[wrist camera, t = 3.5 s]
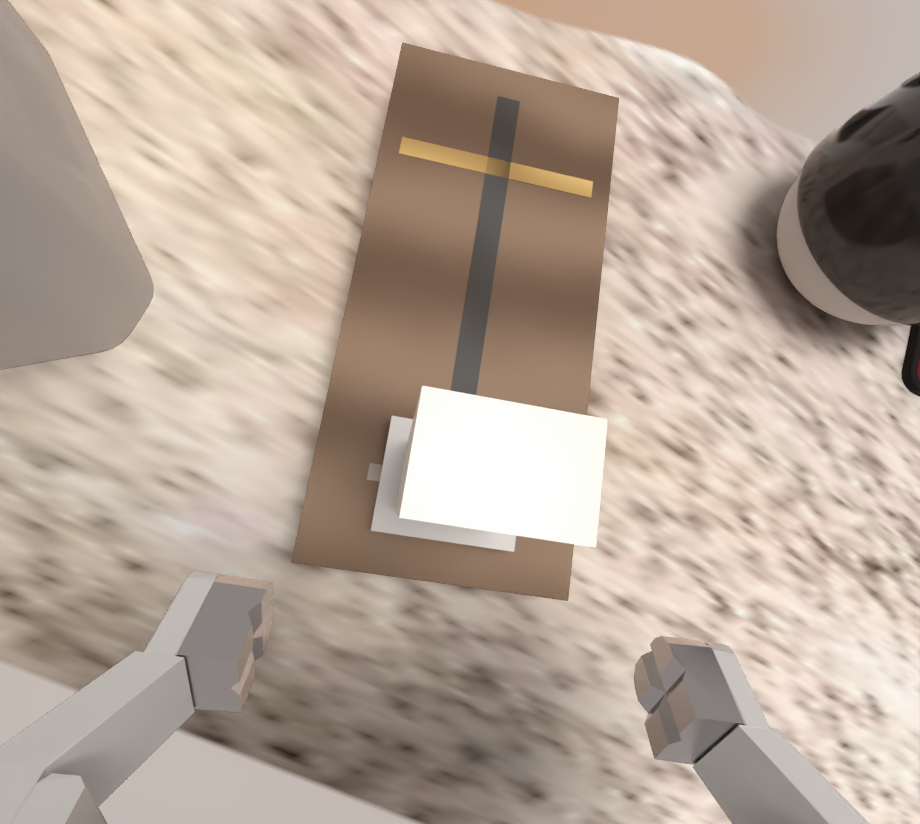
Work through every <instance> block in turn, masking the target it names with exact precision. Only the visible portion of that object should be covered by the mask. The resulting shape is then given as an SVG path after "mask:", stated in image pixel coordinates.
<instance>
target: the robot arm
mask: <svg viewBox="0 0 920 824" xmlns="http://www.w3.org/2000/svg"><path fill="white" fill-rule="evenodd" d="M273 593H274V592H273V583H272V582H265V581H258V580H252V579H245V578H238V577H231V576H225V575H221V574H213V573H206V572H198V571H193V572H192V573H191V574H190V575H189V576H188V577H187V578H186V579H185V581H184V583H183V584H182V586H181V588H180V589H179V591H178V593H177V595H176V596H175V598H174V600H173V602H172V603H171V605H170V607H169V608H168V610H167V612H166V614H165V615H164V617H163V619H162V621H161V622H160V624H159V626H158V627H157V629H156V631H155V633H154V634H153V636H152V638H151V640H150V641H149V643H148V645H147V646H146V648H145V650H144V652H141V651H134V652H133V653H131V654H130V655H129V656H127V657H126V658H124V659H123V660H122V661H120V662H119V663H117V664H116V665H114V666H113V667H112V668H110V669H109V670H107V671H106V672H105V673H103V674H102V675H100V676H99V677H98V678H96V679H95V680H93V681H92V682H91V683H89V684H88V685H86V686H85V687H83V688H82V689H81V690H79V691H78V692H76V693H75V694H74V695H72V696H71V697H69V698H68V699H67V700H65V701H64V702H62V703H61V704H59V705H58V706H57V707H55V708H54V709H52V710H51V711H50V712H48V713H47V714H45V715H44V716H43V717H41V718H40V719H38V720H37V721H35V722H34V723H33V724H31V725H30V726H28V727H27V728H26V729H24V730H23V731H21V732H20V733H19V734H17V735H16V736H14V737H13V738H12V739H10V740H9V741H7V742H6V743H5V744H3V745H2V746H0V824H107V822H106V820H105V819H104V817H103V815H102V813H101V812H100V810H99V808H98V807H99V806H100V804H102V803H103V802H104V801H105V800H106V799H107V798H108V797H109V796H110V795H111V794H112V793H113V792H114V791H115V790H116V789H117V788H118V787H119V786H120V785H121V784H122V783H123V782H124V781H125V780H126V779H127V778H128V777H129V776H130V775H131V774H132V773H133V772H134V771H135V770H136V769H137V768H138V767H139V766H140V765H141V764H142V763H143V762H144V761H145V760H146V759H147V758H148V757H149V756H150V755H151V754H152V753H153V752H154V751H155V750H156V749H158V748H159V746H161V745H162V744H163V743H164V741H166V740H167V739H168V738H169V737H170V736H171V735H172V734H173V733H174V732H175V731H176V730H177V729H178V728H179V727H180V726H181V725H182V724H183V723H184V722H185V721H186V720H187V719H188V718H189V717H190V716H191V715H192V714H193V713H194V709H203V710H215V711H227V712H239V713H242V710H243V708H244V705H245V702H246V699H247V697H248V694H249V691H250V689H251V686H252V683H253V680H254V678H255V669H254V661H255V660H257V659H258V658H259V657H260V656H261V655H263V653H264V650H265V647H266V644H267V641H268V638H269V634H270V630H271V627H272V622H273V614H274V606H273V605H272V604H271V603H270V601H271V598H272V596H273ZM650 646H651V649H652V651H651V652H649V653H647V654H644V655H642V656H641V657H640V659H639V660H638V662H637V663H636V666H635V673H634V684H635V690H636V694H637V698H638V701H639V702H640V704H641V705H642V706H643V707H644V708H645V710H646V711H647V712H648V715H647V718H646V721H645V727H646V731H647V734H648V738H649V741H650V745H651V748H652V752H653V755H654V759H658V760H665V761H672V762H679V763H686V764H693V765H694V766H693V768H694V770H695V771H696V772H697V774H698V775H699V777H700V778H701V780H702V781H703V782H704V784H705V785H706V787H707V788H708V790H709V791H710V792H711V794H712V795H713V797H714V798H715V799H716V801H717V802H718V804H719V805H720V807H721V808H722V809H723V811H724V812H725V814H726V815H727V817H728V818H729V819H730V821H731V822H732V824H869V823H868V822H867V820H866V819H865V818H864V817H863V816H862V815H861V814H860V813H859V812H858V811H857V810H856V809H855V808H854V807H853V806H852V805H851V804H850V803H849V802H848V801H847V800H846V799H845V798H844V797H843V796H842V795H841V794H840V793H839V792H838V791H837V790H836V789H835V788H834V787H833V786H832V785H831V784H830V783H829V782H828V781H827V780H826V779H825V778H824V777H823V776H822V775H821V774H820V773H819V772H818V771H817V770H816V769H815V768H814V767H813V766H812V765H811V764H810V763H809V762H808V760H807V759H806V758H805V757H804V756H803V755H802V754H801V753H800V752H799V751H798V750H797V749H796V748H795V747H794V746H793V745H792V744H791V743H790V742H789V741H788V740H787V739H786V738H785V737H784V736H783V735H782V734H781V733H780V732H779V731H778V730H777V729H772V728H770V727H769V725H768V723H767V721H766V718H765V716H764V714H763V712H762V710H761V708H760V706H759V704H758V702H757V700H756V697H755V695H754V693H753V691H752V689H751V687H750V685H749V683H748V681H747V679H746V676H745V674H744V672H743V670H742V668H741V666H740V664H739V662H738V660H737V658H736V655H735V654H734V652H733V651H732V650H731V649H730V647H729V646H726V645H723V644H716V643H708V642H702V641H697V640H689V639H680V638H672V637H663V636H660V637H657V638H655V639H654V640H653V641H652V643H651V644H650Z"/></svg>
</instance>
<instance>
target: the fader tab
mask: <svg viewBox="0 0 920 824" xmlns="http://www.w3.org/2000/svg"><path fill="white" fill-rule="evenodd" d="M607 423H608V419H604V418H598V417H593V416H587V415H582V414H576V413H571V412H565V411H560V410H554V409H549V408H543V407H538V406H532V405H527V404H521V403H516V402H510V401H505V400H499V399H494V398H488V397H483V396H477V395H472V394H466V393H461V392H455V391H450V390H444V389H439V388H433V387H428V386H422V388H421V392H420V396H419V399H418V403H417V407H416V411H415V415H414V418H413V419H409V418H403V417H397V416H392V417H391V423H390V428H389V434H388V439H387V444H386V450H385V455H384V461H383V466H382V472H381V477H380V482H379V488H378V493H377V499H376V504H375V510H374V515H373V521H372V526H371V531H376V532H383V533H390V534H397V535H403V536H410V537H417V538H424V539H430V540H437V541H444V542H451V543H457V544H464V545H471V546H477V547H484V548H491V549H498V550H504V551H511V552H514V549H515V541H516V536H523V537H529V538H536V539H543V540H549V541H556V542H562V543H569V544H575V545H582V546H589V547H595V548H596V542H597V531H598V520H599V510H600V499H601V488H602V477H603V466H604V455H605V445H606V434H607Z"/></svg>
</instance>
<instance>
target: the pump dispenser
mask: <svg viewBox="0 0 920 824" xmlns="http://www.w3.org/2000/svg"><path fill="white" fill-rule="evenodd" d="M777 246H778V252H779V257H780V260H781V263H782V266H783V268H784V270H785V272H786V274H787V276H788V278H789V280H790V281H791V283H792V284H793V285H794V287H795V288H796V289H797V290H798V291H799V293H800V294H801V295H802V296H803V297H804V298H806V299H807V300H808V301H809V302H810V303H812V304H813V305H814V306H816V307H817V308H819V309H821V310H822V311H824V312H826V313H828V314H830V315H832V316H835V317H837V318H840V319H843V320H846V321H850V322H854V323H860V324H866V325H879V326H886V325H910V326H920V72H919V73H917V74H915V75H914V76H912V77H910V78H909V79H907V80H906V81H904V82H903V83H901V84H899V85H898V86H896V87H895V88H893V89H892V90H890V91H889V92H887V93H886V94H884V95H883V96H881V97H880V98H878V99H876V100H875V101H873V102H872V103H870V104H869V105H867V106H866V107H864V108H863V109H862V110H860V111H859V112H857V113H856V114H854V115H853V116H851V117H850V118H849V119H847V120H846V121H845V122H843V123H842V124H841V125H840V126H838V127H837V128H836V129H835V130H833V131H832V132H831V133H830V134H828V135H827V136H826V137H825V138H824V139H823V140H822V141H821V142H820V143H819V144H818V145H817V146H816V147H815V148H814V149H813V151H812V152H811V153H810V155H809V156H808V158H807V160H806V162H805V164H804V166H803V168H802V171H801V172H800V174H799V175H798V177H797V178H796V180H795V181H794V183H793V184H792V186H791V188H790V189H789V191H788V193H787V195H786V198H785V200H784V202H783V205H782V208H781V211H780V215H779V219H778V225H777Z"/></svg>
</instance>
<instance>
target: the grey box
mask: <svg viewBox="0 0 920 824" xmlns="http://www.w3.org/2000/svg"><path fill="white" fill-rule="evenodd" d="M152 297H153V283H152V279H151V276H150V274H149V272H148V270H147V268H146V265H145V263H144V261H143V259H142V257H141V254H140V252H139V250H138V248H137V246H136V243H135V241H134V239H133V237H132V235H131V232H130V230H129V228H128V226H127V224H126V222H125V219H124V217H123V215H122V213H121V211H120V208H119V206H118V204H117V202H116V200H115V197H114V195H113V193H112V191H111V189H110V187H109V184H108V182H107V180H106V178H105V176H104V173H103V171H102V169H101V167H100V165H99V162H98V160H97V158H96V156H95V154H94V152H93V149H92V147H91V145H90V143H89V141H88V138H87V136H86V134H85V132H84V130H83V127H82V125H81V123H80V121H79V119H78V116H77V114H76V112H75V110H74V108H73V106H72V103H71V101H70V99H69V97H68V95H67V92H66V90H65V88H64V86H63V84H62V81H61V79H60V77H59V75H58V73H57V71H56V68H55V66H54V64H53V62H52V60H51V57H50V55H49V54H48V52H47V51H46V49H45V47H44V46H43V45H42V44H41V42H40V41H39V40H38V38H37V37H36V36H35V34H34V33H33V32H32V30H31V29H30V28H29V27H28V25H27V24H26V23H25V21H24V20H23V19H22V17H21V16H20V15H19V13H18V12H17V11H16V10H15V8H14V7H13V6H12V4H11V3H10V2H9V0H0V370H1V369H6V368H12V367H18V366H23V365H29V364H35V363H40V362H46V361H52V360H57V359H63V358H69V357H74V356H80V355H86V354H92V353H97V352H102V351H106V350H109V349H112V348H114V347H116V346H117V345H119V344H120V343H122V342H123V341H124V340H125V339H126V338H127V337H128V335H129V334H130V333H131V331H132V330H133V328H134V327H135V325H136V324H137V322H138V321H139V319H140V318H141V316H142V315H143V313H144V312H145V310H146V309H147V307H148V306H149V303H150V301H151V299H152Z"/></svg>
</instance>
